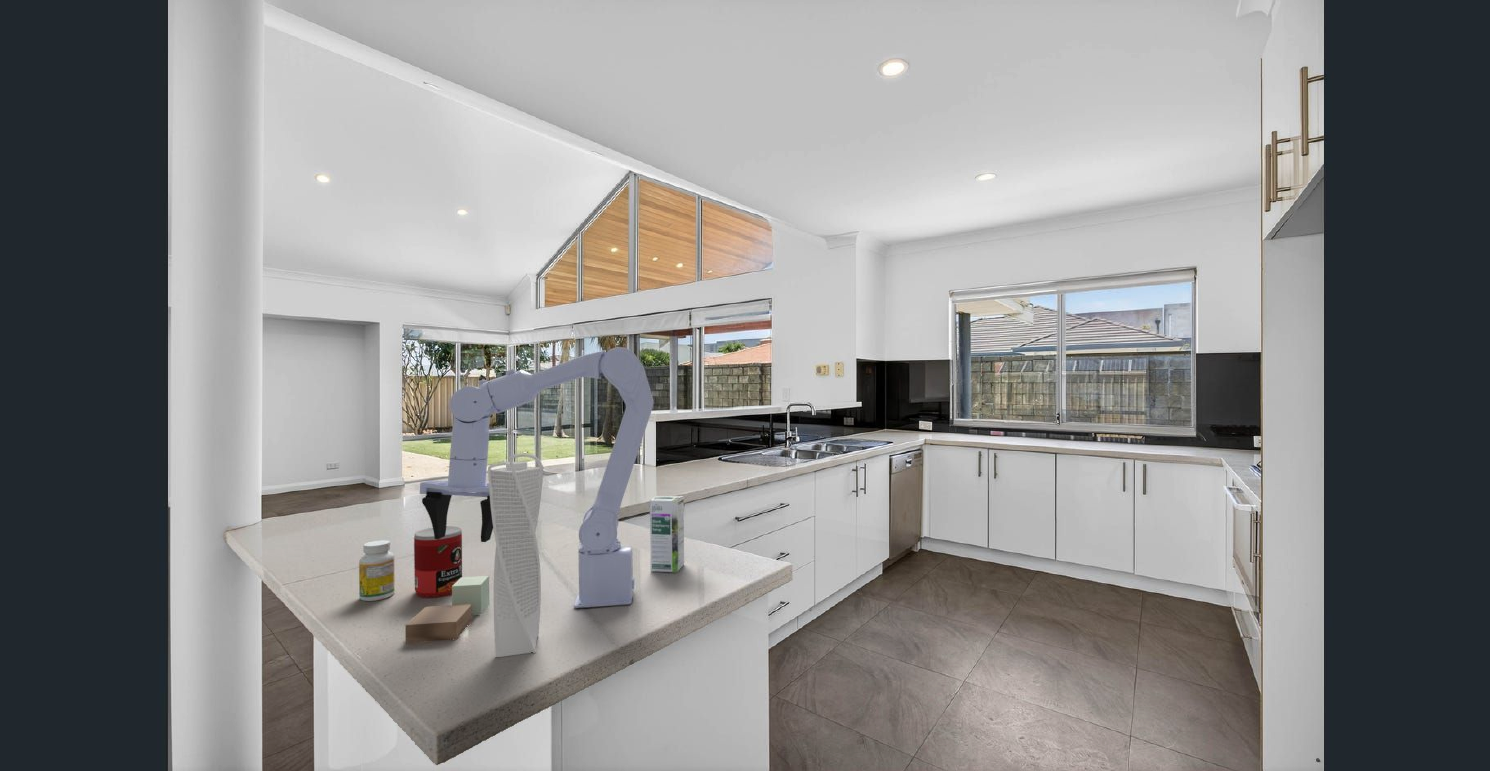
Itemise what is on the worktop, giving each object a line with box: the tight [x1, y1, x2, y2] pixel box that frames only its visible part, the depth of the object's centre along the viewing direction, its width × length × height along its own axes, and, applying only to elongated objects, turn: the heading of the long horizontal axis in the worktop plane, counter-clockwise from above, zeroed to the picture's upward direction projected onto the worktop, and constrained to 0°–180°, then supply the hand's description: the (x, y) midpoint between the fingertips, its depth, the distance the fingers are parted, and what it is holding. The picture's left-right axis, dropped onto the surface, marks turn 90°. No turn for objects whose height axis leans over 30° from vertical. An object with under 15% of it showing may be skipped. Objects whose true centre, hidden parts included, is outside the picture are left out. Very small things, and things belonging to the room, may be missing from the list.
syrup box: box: [649, 495, 685, 573], centre depth 116 cm, size 6×6×14 cm
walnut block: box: [404, 604, 473, 644], centre depth 86 cm, size 7×7×3 cm
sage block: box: [451, 575, 490, 616], centre depth 95 cm, size 4×4×5 cm
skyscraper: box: [487, 452, 544, 658], centre depth 81 cm, size 8×8×28 cm
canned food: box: [413, 525, 463, 599], centre depth 104 cm, size 8×8×11 cm
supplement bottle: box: [358, 539, 396, 602], centre depth 102 cm, size 5×5×10 cm
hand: (462, 539), depth 94 cm, fingers open, 7 cm apart
